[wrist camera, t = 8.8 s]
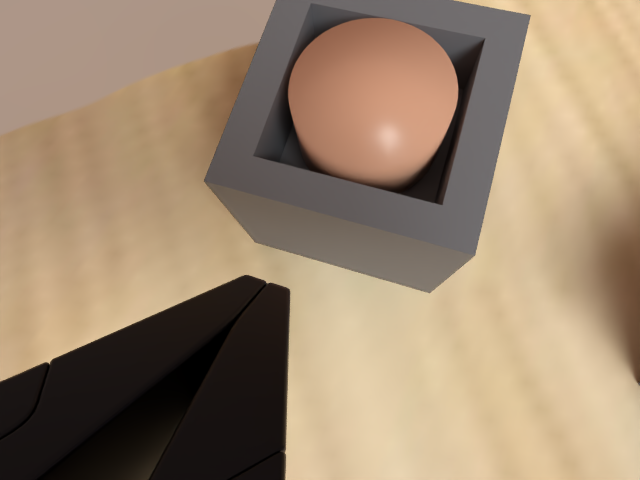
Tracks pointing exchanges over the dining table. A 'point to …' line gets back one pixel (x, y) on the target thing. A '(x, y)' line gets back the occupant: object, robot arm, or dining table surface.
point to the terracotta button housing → (356, 199)
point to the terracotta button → (372, 102)
